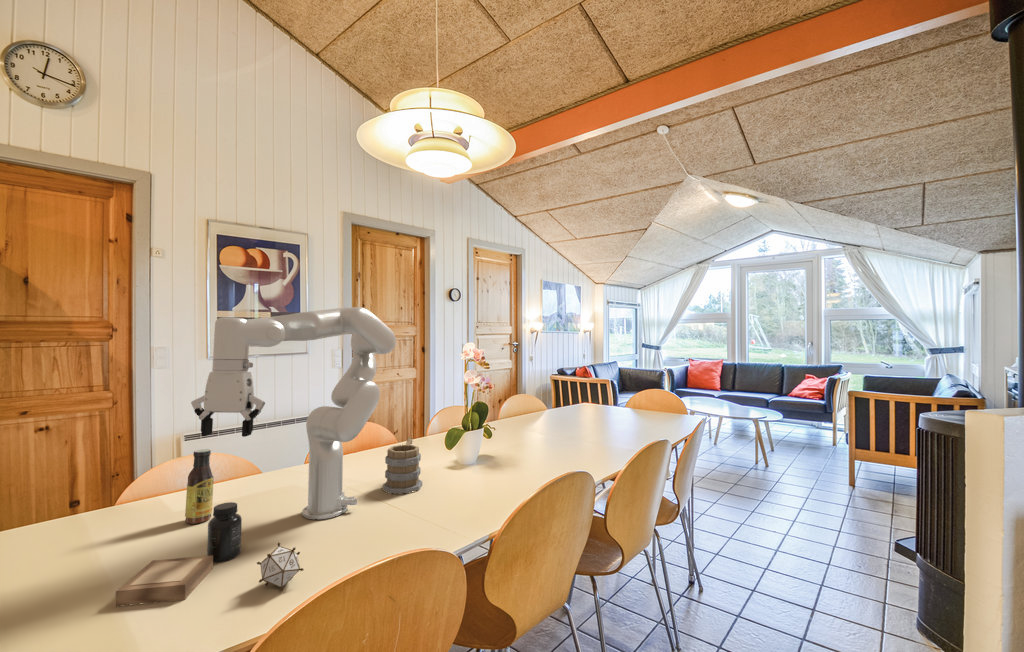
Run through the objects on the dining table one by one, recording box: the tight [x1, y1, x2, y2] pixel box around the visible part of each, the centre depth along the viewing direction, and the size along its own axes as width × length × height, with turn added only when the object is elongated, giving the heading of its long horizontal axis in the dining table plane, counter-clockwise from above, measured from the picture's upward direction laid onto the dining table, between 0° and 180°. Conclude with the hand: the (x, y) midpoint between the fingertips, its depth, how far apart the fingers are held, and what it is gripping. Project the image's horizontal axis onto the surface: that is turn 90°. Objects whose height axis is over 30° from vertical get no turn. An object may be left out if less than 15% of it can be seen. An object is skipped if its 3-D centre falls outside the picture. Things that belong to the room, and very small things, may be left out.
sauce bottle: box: [184, 448, 215, 525], centre depth 126 cm, size 6×6×20 cm
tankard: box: [382, 437, 423, 494], centre depth 158 cm, size 20×13×15 cm, turn 179°
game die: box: [256, 542, 305, 593], centre depth 93 cm, size 9×8×10 cm
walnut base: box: [115, 555, 214, 607], centre depth 93 cm, size 12×12×3 cm
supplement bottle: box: [206, 501, 243, 564], centre depth 106 cm, size 7×7×12 cm
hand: (226, 435), depth 109 cm, fingers open, 9 cm apart
